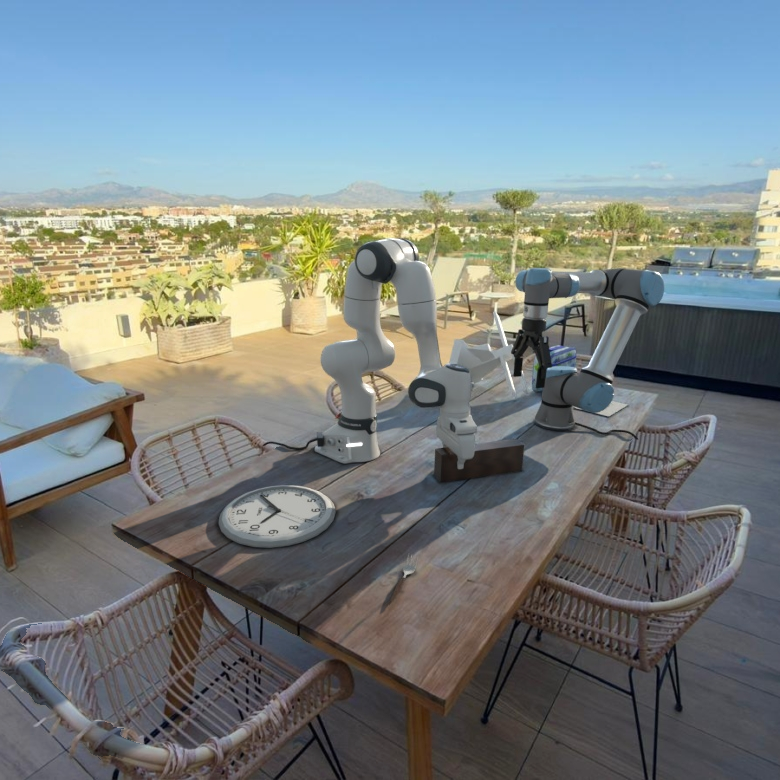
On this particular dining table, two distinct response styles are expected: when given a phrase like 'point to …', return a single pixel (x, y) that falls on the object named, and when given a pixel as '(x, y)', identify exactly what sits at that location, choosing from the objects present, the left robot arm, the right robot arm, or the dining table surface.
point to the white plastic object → (486, 359)
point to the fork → (407, 571)
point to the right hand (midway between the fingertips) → (528, 381)
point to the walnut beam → (480, 461)
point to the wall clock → (277, 516)
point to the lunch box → (556, 361)
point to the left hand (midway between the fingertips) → (453, 461)
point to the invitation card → (611, 408)
